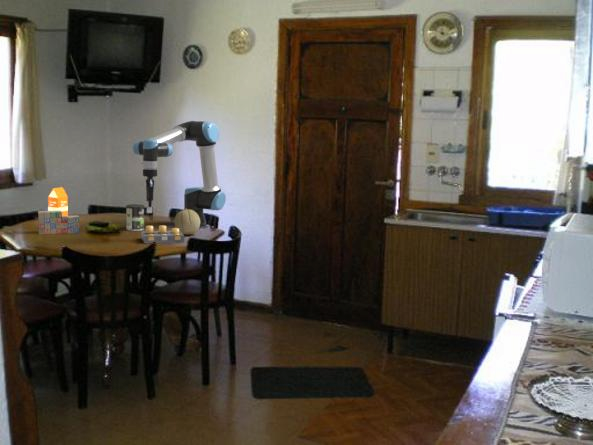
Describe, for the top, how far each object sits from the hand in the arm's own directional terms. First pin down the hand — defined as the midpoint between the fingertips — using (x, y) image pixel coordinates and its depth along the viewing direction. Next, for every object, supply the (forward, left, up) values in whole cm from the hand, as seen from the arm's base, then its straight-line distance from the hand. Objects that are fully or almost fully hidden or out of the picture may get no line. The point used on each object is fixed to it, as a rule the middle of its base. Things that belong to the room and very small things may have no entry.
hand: (149, 212), depth 381 cm
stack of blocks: (+46, -30, -16) cm, 57 cm away
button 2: (-14, 0, -14) cm, 20 cm away
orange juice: (+45, -72, -16) cm, 86 cm away
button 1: (0, 0, -12) cm, 12 cm away
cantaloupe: (-24, -16, -16) cm, 32 cm away
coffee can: (+3, -36, -16) cm, 39 cm away
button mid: (-7, 0, -12) cm, 14 cm away
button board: (-7, 0, -15) cm, 17 cm away
